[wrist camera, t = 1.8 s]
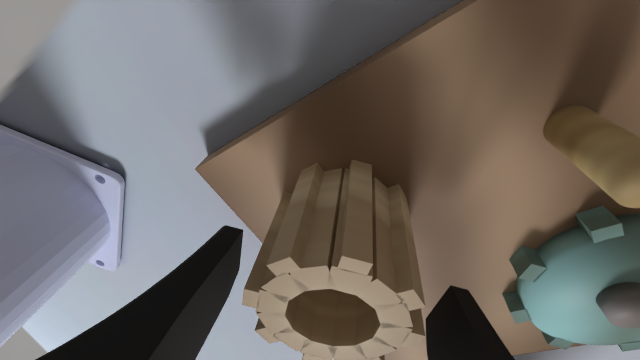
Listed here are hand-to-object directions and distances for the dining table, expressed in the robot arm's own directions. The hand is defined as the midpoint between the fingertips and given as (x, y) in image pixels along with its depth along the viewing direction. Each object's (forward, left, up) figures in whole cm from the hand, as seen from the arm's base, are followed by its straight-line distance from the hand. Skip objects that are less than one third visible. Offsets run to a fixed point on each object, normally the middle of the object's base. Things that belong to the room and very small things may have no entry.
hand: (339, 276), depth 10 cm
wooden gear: (0, 0, -3) cm, 3 cm away
